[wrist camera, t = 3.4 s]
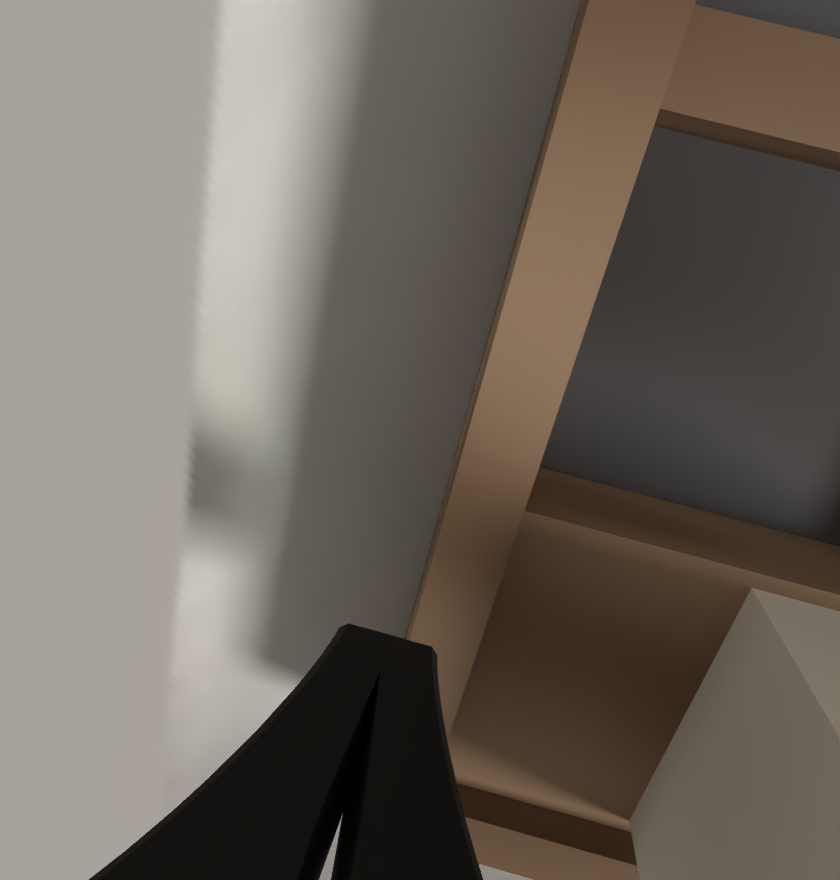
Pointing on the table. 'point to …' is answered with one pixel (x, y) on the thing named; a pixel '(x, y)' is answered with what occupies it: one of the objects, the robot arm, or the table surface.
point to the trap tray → (641, 417)
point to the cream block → (753, 757)
